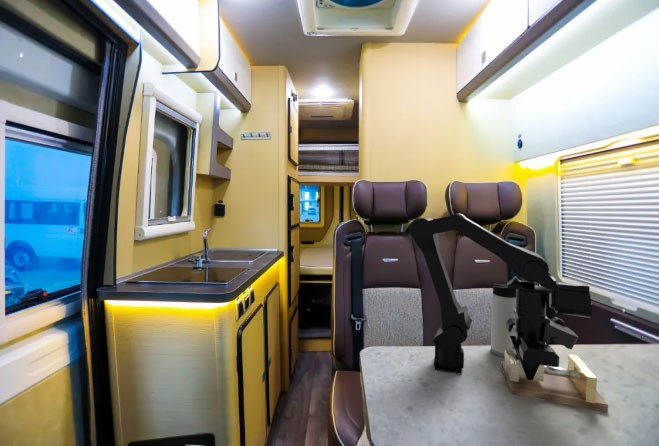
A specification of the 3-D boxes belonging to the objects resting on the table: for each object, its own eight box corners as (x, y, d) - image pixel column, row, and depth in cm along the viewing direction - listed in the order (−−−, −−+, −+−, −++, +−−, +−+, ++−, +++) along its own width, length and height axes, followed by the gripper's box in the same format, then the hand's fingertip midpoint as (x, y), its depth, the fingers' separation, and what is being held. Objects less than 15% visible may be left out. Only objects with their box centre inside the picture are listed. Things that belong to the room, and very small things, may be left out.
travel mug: (521, 359, 82) (524, 286, 81) (494, 357, 83) (497, 285, 82) (512, 348, 88) (514, 280, 87) (487, 346, 89) (489, 279, 88)
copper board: (511, 393, 67) (511, 387, 67) (501, 366, 78) (501, 360, 78) (607, 411, 61) (608, 404, 61) (582, 379, 73) (582, 373, 72)
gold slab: (585, 401, 62) (587, 376, 62) (567, 376, 71) (568, 354, 71) (595, 403, 62) (596, 378, 61) (575, 377, 71) (576, 355, 70)
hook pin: (510, 380, 68) (510, 362, 68) (504, 364, 75) (504, 348, 74) (586, 393, 63) (587, 374, 63) (572, 375, 70) (573, 358, 70)
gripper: (593, 330, 57) (589, 409, 58) (558, 300, 75) (555, 362, 76) (525, 322, 61) (522, 397, 62) (506, 296, 79) (504, 354, 80)
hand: (527, 375), depth 70 cm, fingers closed on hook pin, 3 cm apart
